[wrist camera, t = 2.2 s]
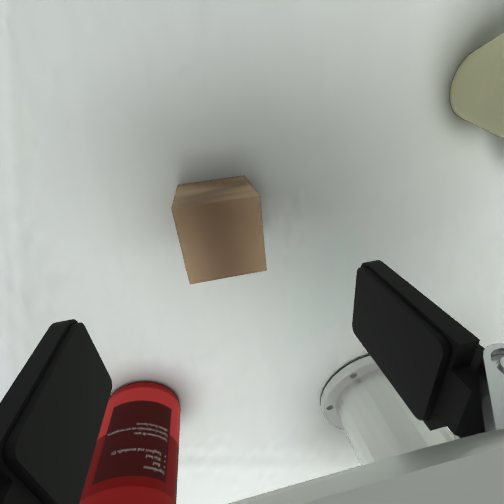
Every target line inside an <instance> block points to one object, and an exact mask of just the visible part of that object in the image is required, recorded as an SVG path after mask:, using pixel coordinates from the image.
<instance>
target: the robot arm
mask: <svg viewBox="0 0 504 504" xmlns="http://www.w3.org/2000/svg"><path fill="white" fill-rule="evenodd" d="M352 327H353V331H354V333H355V335H356V336H357V338H358V339H359V341H360V342H361V343H362V345H363V346H364V348H365V349H366V350H367V352H368V353H369V354H370V356H367V357H364V358H361V359H358V360H356V361H354V362H353V363H351V364H349V365H347V366H346V367H344V368H343V369H341V370H340V371H339V372H338V373H337V374H336V375H335V376H334V377H333V378H332V379H331V380H330V381H329V383H328V384H327V386H326V387H325V389H324V391H323V394H322V397H321V408H322V411H323V414H324V416H325V418H326V420H327V421H328V422H329V423H330V424H332V425H333V426H335V427H338V428H340V429H345V431H346V433H347V435H348V437H349V439H350V442H351V444H352V446H353V448H354V450H355V452H356V454H357V456H358V458H359V461H360V463H361V465H362V466H358V467H355V468H351V469H347V470H344V471H340V472H337V473H333V474H330V475H326V476H323V477H319V478H316V479H312V480H309V481H305V482H302V483H298V484H295V485H291V486H288V487H284V488H281V489H278V490H274V491H271V492H267V493H264V494H260V495H257V496H253V497H250V498H246V499H243V500H239V501H236V502H232V503H229V504H504V344H493V345H490V346H487V347H486V349H484V348H483V347H482V346H481V345H479V341H480V340H479V339H478V338H477V337H476V336H474V335H473V334H472V333H471V332H469V331H468V330H467V329H466V328H464V327H463V326H462V325H461V324H459V323H458V322H457V321H456V320H454V319H453V318H452V317H451V316H449V315H448V314H447V313H446V312H444V311H443V310H442V309H441V308H439V307H438V306H437V305H436V304H434V303H433V302H432V301H431V300H429V299H428V298H427V297H426V296H424V295H423V294H422V293H421V292H419V291H418V290H417V289H416V288H414V287H413V286H412V285H411V284H409V283H408V282H407V281H406V280H404V279H403V278H402V277H401V276H399V275H398V274H397V273H396V272H394V271H393V270H392V269H391V268H389V267H388V266H387V265H386V264H384V263H383V262H382V261H380V260H376V261H371V262H366V263H363V264H362V265H361V268H358V270H357V277H356V288H355V299H354V310H353V322H352ZM111 390H112V381H111V378H110V376H109V374H108V372H107V370H106V368H105V366H104V364H103V362H102V360H101V358H100V356H99V354H98V352H97V350H96V348H95V346H94V344H93V342H92V340H91V338H90V336H89V334H88V332H87V330H86V328H85V326H84V324H83V323H78V322H77V321H76V320H74V319H72V320H67V321H62V322H56V323H53V324H52V325H51V326H50V327H49V329H48V330H47V332H46V333H45V335H44V336H43V338H42V339H41V341H40V343H39V344H38V346H37V347H36V349H35V350H34V352H33V353H32V355H31V356H30V358H29V360H28V361H27V363H26V364H25V366H24V367H23V369H22V370H21V372H20V373H19V375H18V376H17V378H16V380H15V381H14V383H13V384H12V386H11V387H10V389H9V390H8V392H7V393H6V395H5V396H4V398H3V400H2V401H1V403H0V504H79V503H80V499H81V496H82V492H83V489H84V485H85V482H86V478H87V475H88V471H89V468H90V464H91V460H92V457H93V453H94V450H95V446H96V443H97V439H98V436H99V432H100V429H101V425H102V422H103V418H104V415H105V411H106V408H107V404H108V401H109V397H110V394H111ZM446 426H448V428H449V429H450V430H451V431H452V433H453V434H454V436H453V435H452V434H451V433H450V431H449V430H448V429H447V428H446Z"/></svg>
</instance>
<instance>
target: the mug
mask: <svg viewBox="0 0 504 504" xmlns="http://www.w3.org/2000/svg"><path fill="white" fill-rule="evenodd" d="M450 102H451V106H452V108H453V111H454V112H455V113H456V114H457V115H458V116H459V117H461V118H463V119H465V120H467V121H469V122H471V123H473V124H475V125H477V126H479V127H481V128H483V129H485V130H487V131H489V132H491V133H493V134H495V135H497V136H499V137H501V138H503V139H504V33H502V34H501V35H499V36H497V37H496V38H494V39H493V40H491V41H489V42H488V43H486V44H485V45H483V46H481V47H480V48H478V49H477V50H475V51H474V52H472V53H471V54H470V55H469V56H468V57H467V58H466V59H465V60H464V61H463V62H462V64H461V65H460V66H459V68H458V70H457V71H456V74H455V76H454V78H453V81H452V84H451V89H450Z"/></svg>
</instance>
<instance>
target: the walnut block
mask: <svg viewBox="0 0 504 504" xmlns="http://www.w3.org/2000/svg"><path fill="white" fill-rule="evenodd" d="M172 213H173V217H174V221H175V226H176V230H177V234H178V238H179V242H180V246H181V250H182V254H183V258H184V263H185V267H186V271H187V275H188V279H189V283H190V284H195V283H200V282H205V281H211V280H216V279H222V278H227V277H233V276H238V275H244V274H249V273H255V272H260V271H266V270H267V269H266V258H265V247H264V236H263V226H262V215H261V204H260V195H259V194H258V193H257V191H256V190H255V189H254V188H253V186H252V185H251V184H250V183H249V181H248V180H247V179H246V178H245V176H238V177H231V178H224V179H217V180H210V181H203V182H196V183H189V184H182V185H178V186H177V190H176V193H175V197H174V201H173V205H172Z"/></svg>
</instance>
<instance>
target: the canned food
mask: <svg viewBox="0 0 504 504" xmlns="http://www.w3.org/2000/svg"><path fill="white" fill-rule="evenodd" d="M179 431H180V405H179V402H178V399H177V397H176V395H175V394H174V393H173V391H171V390H170V389H169V388H167V387H165V386H163V385H160V384H157V383H151V382H140V383H133V384H130V385H127V386H124V387H122V388H120V389H119V390H117V391H116V392H115V393H114V394H113V395H112V396H111V397H110V399H109V401H108V404H107V408H106V411H105V415H104V418H103V422H102V425H101V429H100V432H99V436H98V439H97V443H96V446H95V450H94V453H93V457H92V460H91V464H90V468H89V471H88V475H87V478H86V482H85V485H84V489H83V492H82V496H81V499H80V503H79V504H176V495H177V474H178V453H179Z"/></svg>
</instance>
